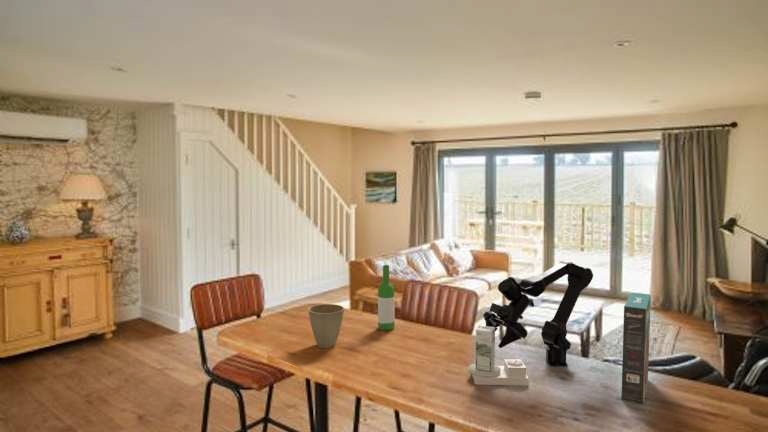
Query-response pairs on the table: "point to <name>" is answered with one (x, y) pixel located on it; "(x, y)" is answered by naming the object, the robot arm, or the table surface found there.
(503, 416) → the table surface
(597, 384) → the table surface
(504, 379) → the scale
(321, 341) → the plant pot
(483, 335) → the syrup box
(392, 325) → the wine bottle
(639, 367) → the cake mix box
